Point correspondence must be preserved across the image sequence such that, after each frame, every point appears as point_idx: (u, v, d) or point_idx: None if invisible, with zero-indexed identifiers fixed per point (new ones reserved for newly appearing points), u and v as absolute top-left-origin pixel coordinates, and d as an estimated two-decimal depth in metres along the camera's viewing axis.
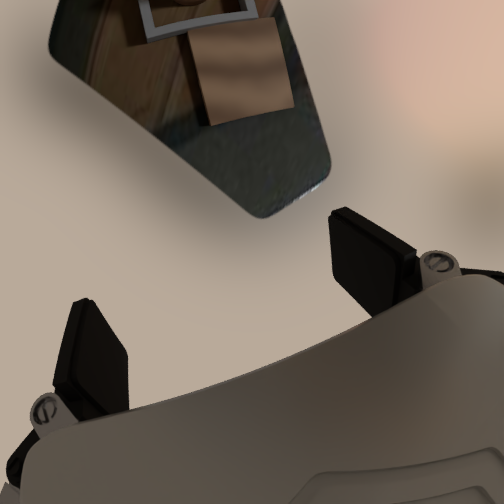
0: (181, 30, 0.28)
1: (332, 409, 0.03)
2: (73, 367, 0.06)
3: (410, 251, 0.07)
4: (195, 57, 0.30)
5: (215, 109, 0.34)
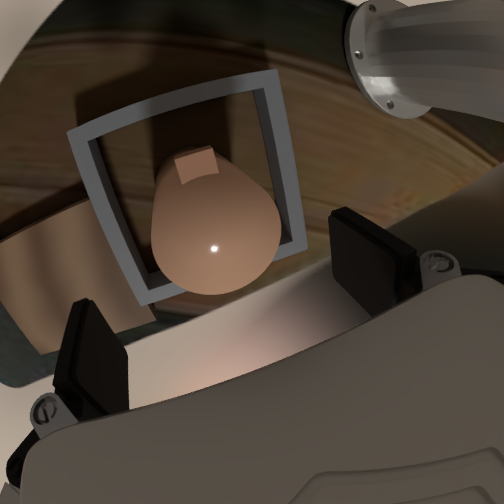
0: None
1: (332, 409, 0.03)
2: (73, 367, 0.06)
3: (410, 251, 0.07)
4: (51, 219, 0.18)
5: None
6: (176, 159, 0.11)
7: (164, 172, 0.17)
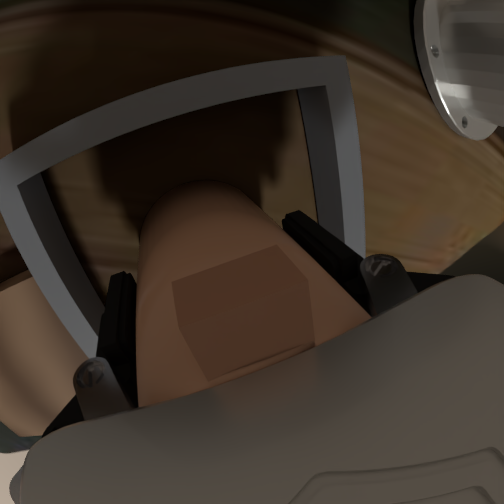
0: None
1: (332, 409, 0.03)
2: (120, 331, 0.07)
3: (349, 255, 0.08)
4: None
5: None
6: (185, 323, 0.03)
7: (152, 248, 0.09)
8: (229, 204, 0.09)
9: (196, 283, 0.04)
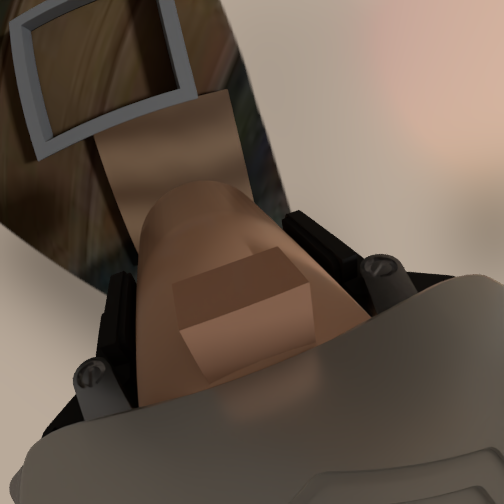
0: None
1: (332, 409, 0.03)
2: (120, 331, 0.07)
3: (349, 255, 0.08)
4: (109, 177, 0.23)
5: None
6: (186, 326, 0.03)
7: (152, 249, 0.09)
8: (230, 205, 0.09)
9: (196, 285, 0.04)
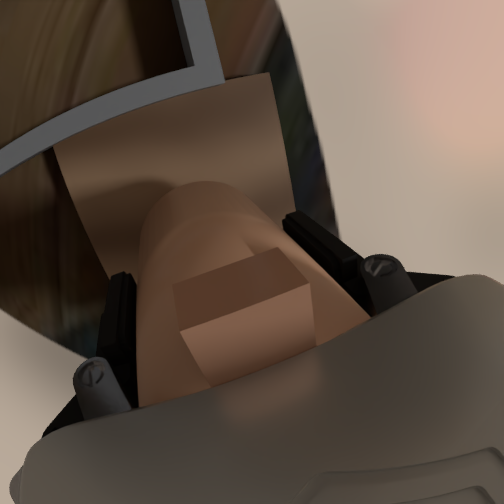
0: (35, 154, 0.11)
1: (332, 409, 0.03)
2: (120, 331, 0.07)
3: (349, 255, 0.08)
4: (81, 213, 0.14)
5: None
6: (186, 327, 0.03)
7: (152, 249, 0.09)
8: (230, 205, 0.09)
9: (197, 286, 0.04)
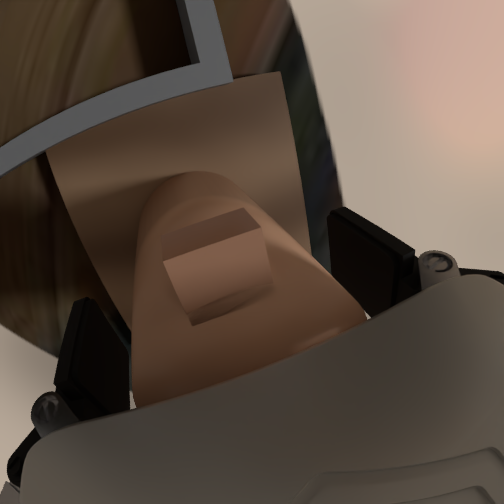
0: (26, 159, 0.10)
1: (332, 409, 0.03)
2: (74, 366, 0.06)
3: (408, 251, 0.07)
4: (76, 224, 0.13)
5: None
6: (168, 259, 0.04)
7: (149, 227, 0.10)
8: (218, 190, 0.11)
9: (179, 235, 0.05)
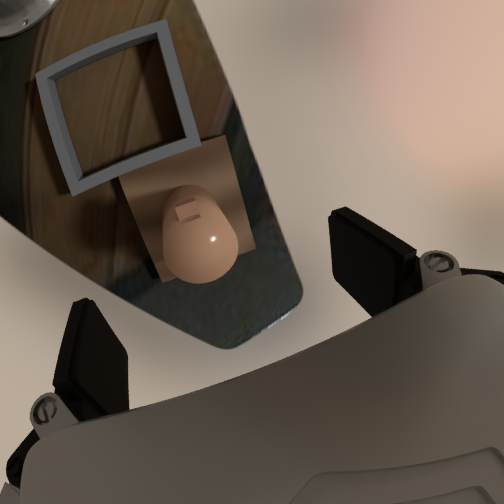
0: (109, 179, 0.27)
1: (332, 409, 0.03)
2: (73, 367, 0.06)
3: (410, 251, 0.07)
4: (132, 209, 0.30)
5: (164, 266, 0.33)
6: (176, 207, 0.21)
7: (168, 207, 0.26)
8: (195, 193, 0.27)
9: (178, 203, 0.22)
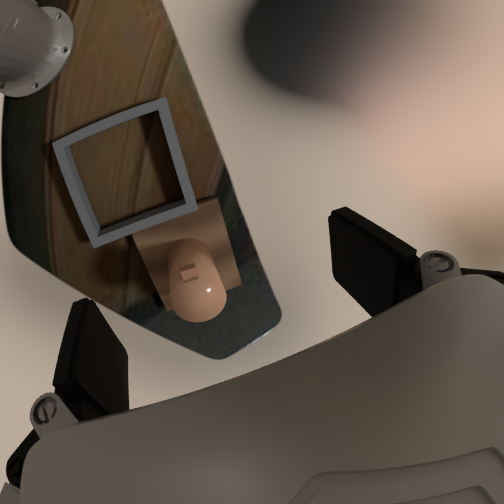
0: None
1: (332, 409, 0.03)
2: (73, 367, 0.06)
3: (410, 251, 0.07)
4: (142, 257, 0.37)
5: (168, 299, 0.41)
6: (181, 271, 0.29)
7: (173, 261, 0.34)
8: (194, 250, 0.35)
9: (182, 267, 0.30)
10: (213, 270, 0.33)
